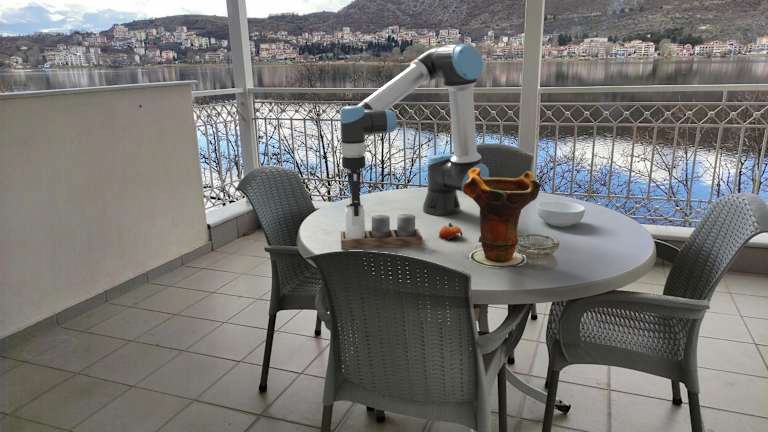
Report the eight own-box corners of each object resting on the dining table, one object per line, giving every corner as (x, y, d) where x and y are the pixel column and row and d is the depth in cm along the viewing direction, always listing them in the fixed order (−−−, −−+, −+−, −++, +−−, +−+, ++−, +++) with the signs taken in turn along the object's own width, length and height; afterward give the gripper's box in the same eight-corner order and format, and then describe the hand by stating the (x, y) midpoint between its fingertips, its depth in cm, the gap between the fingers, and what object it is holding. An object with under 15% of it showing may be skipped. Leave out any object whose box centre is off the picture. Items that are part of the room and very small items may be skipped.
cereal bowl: (590, 223, 198) (592, 205, 196) (571, 234, 186) (573, 214, 184) (548, 215, 209) (549, 198, 207) (527, 224, 197) (529, 206, 196)
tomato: (466, 230, 185) (460, 219, 180) (463, 248, 182) (458, 237, 176) (444, 231, 189) (438, 220, 183) (441, 248, 185) (435, 237, 180)
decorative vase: (549, 267, 155) (552, 174, 147) (472, 274, 153) (471, 180, 145) (525, 244, 175) (527, 160, 167) (456, 250, 173) (455, 166, 165)
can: (368, 242, 175) (367, 207, 172) (350, 245, 172) (349, 209, 169) (360, 236, 181) (359, 202, 177) (342, 239, 178) (341, 205, 175)
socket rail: (417, 236, 184) (417, 212, 181) (422, 245, 175) (422, 219, 172) (340, 239, 181) (340, 214, 178) (341, 248, 172) (340, 222, 169)
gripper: (368, 162, 157) (369, 230, 163) (362, 148, 181) (364, 208, 187) (342, 163, 156) (345, 231, 162) (340, 149, 180) (342, 209, 186)
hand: (355, 219), depth 175 cm, fingers open, 13 cm apart
